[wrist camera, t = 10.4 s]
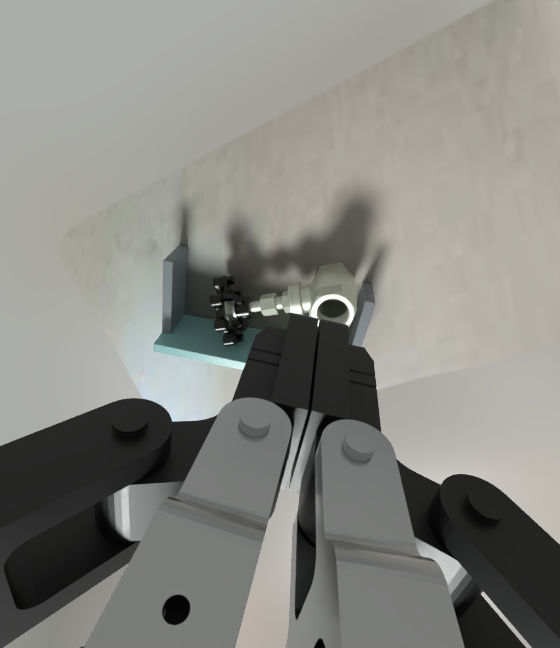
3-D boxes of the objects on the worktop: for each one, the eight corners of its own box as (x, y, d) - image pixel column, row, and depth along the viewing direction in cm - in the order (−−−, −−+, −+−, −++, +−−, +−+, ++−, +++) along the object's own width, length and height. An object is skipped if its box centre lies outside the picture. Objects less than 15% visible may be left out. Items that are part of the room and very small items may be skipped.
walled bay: (371, 283, 37) (376, 314, 32) (350, 354, 41) (351, 392, 36) (179, 245, 38) (154, 269, 33) (176, 319, 42) (153, 351, 37)
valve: (351, 242, 36) (222, 263, 38) (354, 270, 30) (202, 293, 33) (361, 308, 39) (240, 324, 41) (364, 345, 33) (225, 361, 36)
